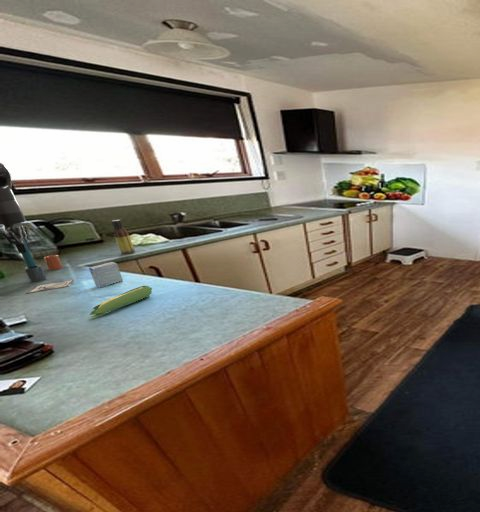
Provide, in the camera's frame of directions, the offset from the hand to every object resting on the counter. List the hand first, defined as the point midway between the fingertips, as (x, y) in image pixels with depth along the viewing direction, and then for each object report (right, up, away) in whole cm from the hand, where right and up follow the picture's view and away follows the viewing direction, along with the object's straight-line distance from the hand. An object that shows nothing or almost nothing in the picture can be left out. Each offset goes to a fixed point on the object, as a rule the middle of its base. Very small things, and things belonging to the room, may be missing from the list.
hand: (24, 251), depth 118 cm
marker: (0, -8, +3) cm, 8 cm away
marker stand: (0, -14, +5) cm, 14 cm away
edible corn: (+61, -21, -18) cm, 67 cm away
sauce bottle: (+3, 0, +44) cm, 44 cm away
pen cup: (-10, -9, +19) cm, 23 cm away
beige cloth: (+14, -16, -2) cm, 21 cm away
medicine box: (+36, -14, +1) cm, 39 cm away
